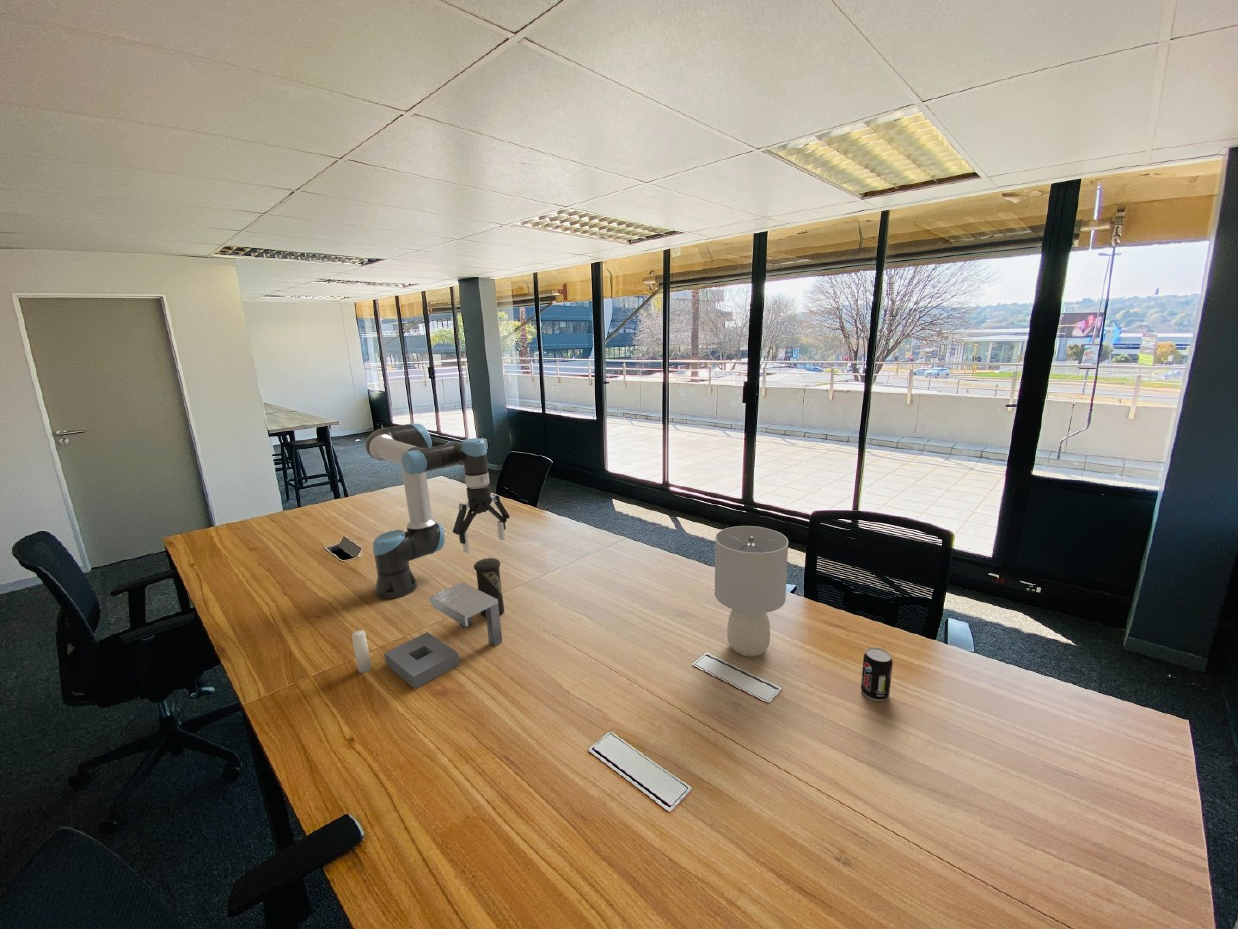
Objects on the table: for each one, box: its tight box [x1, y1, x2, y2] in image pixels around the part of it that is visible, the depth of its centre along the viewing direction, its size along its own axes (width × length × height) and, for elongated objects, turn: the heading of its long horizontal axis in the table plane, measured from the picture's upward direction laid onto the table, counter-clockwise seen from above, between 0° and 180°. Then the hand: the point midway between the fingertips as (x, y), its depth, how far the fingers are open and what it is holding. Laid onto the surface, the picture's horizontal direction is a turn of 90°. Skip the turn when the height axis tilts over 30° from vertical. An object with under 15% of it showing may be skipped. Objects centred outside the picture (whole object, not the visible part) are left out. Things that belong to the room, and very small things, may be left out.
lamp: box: [714, 525, 789, 658], centre depth 146 cm, size 20×20×37 cm
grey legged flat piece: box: [429, 581, 503, 647], centre depth 159 cm, size 20×12×15 cm, turn 50°
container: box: [473, 557, 505, 619], centre depth 175 cm, size 9×9×20 cm
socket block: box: [383, 631, 460, 690], centre depth 149 cm, size 18×14×4 cm
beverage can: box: [860, 647, 894, 702], centre depth 128 cm, size 7×7×12 cm
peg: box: [351, 629, 373, 674], centre depth 147 cm, size 4×4×12 cm
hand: (484, 545), depth 167 cm, fingers open, 13 cm apart
